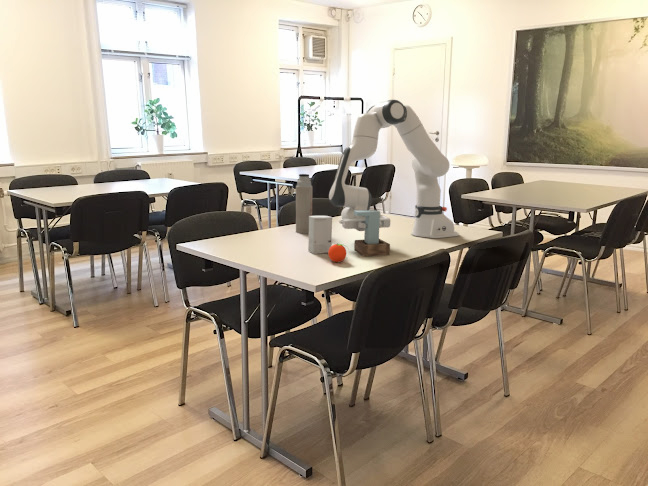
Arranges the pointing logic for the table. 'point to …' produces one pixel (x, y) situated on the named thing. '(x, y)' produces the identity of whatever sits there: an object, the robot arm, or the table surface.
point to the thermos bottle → (303, 203)
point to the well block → (372, 248)
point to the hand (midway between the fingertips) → (372, 226)
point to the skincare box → (320, 234)
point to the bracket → (370, 225)
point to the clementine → (337, 252)
